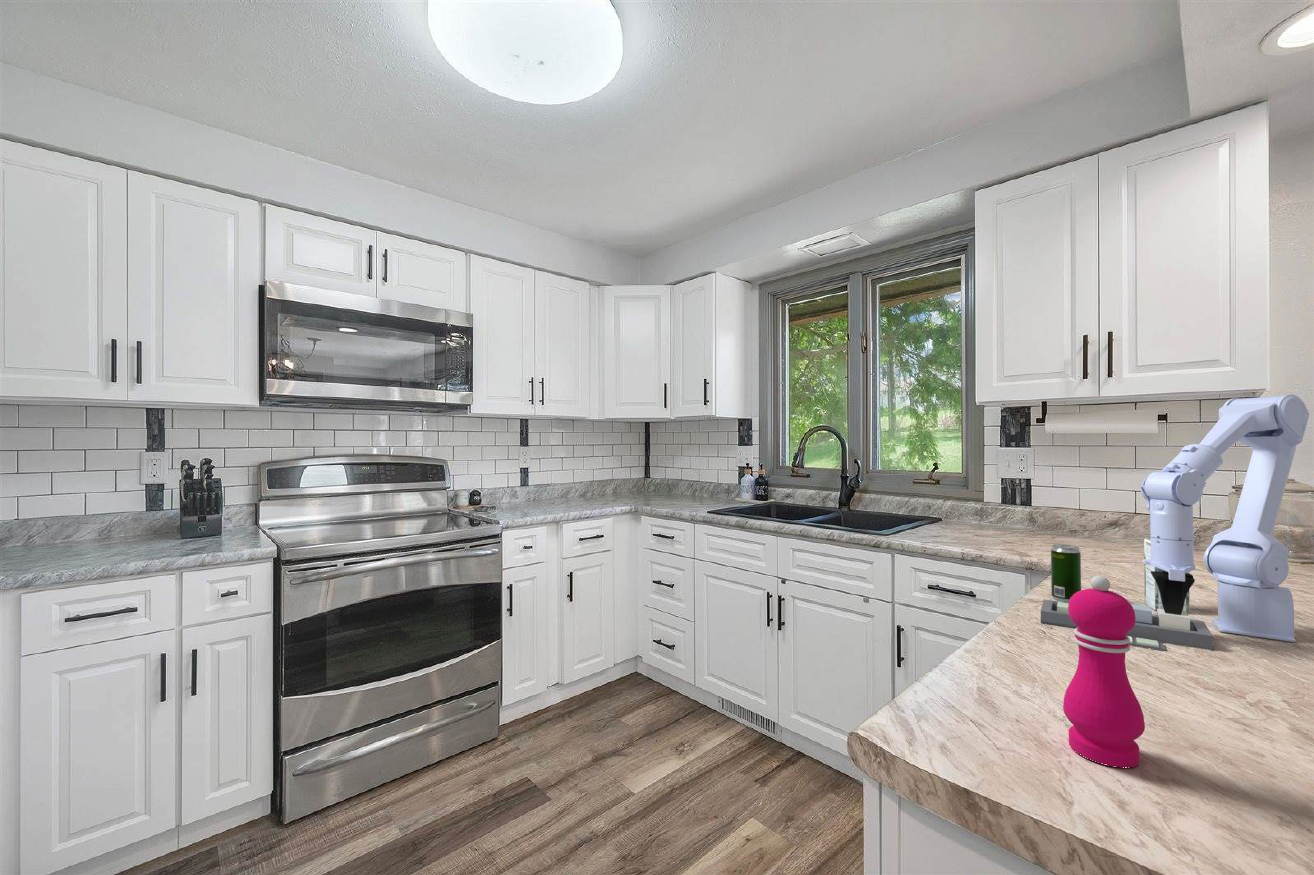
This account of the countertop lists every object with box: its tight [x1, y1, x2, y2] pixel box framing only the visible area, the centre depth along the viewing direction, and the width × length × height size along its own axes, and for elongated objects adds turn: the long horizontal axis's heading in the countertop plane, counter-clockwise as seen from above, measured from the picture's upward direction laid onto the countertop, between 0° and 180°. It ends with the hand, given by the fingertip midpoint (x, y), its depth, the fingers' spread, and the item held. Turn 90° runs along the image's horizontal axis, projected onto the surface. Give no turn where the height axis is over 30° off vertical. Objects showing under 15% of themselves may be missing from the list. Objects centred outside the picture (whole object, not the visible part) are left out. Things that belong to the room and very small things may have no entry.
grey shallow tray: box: [1040, 599, 1214, 651], centre depth 105 cm, size 24×10×2 cm, turn 52°
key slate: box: [1130, 603, 1153, 624], centre depth 104 cm, size 4×4×2 cm
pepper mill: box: [1062, 575, 1146, 769], centre depth 63 cm, size 7×7×20 cm
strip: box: [1128, 636, 1166, 652], centre depth 98 cm, size 11×4×1 cm, turn 52°
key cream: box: [1156, 609, 1191, 630], centre depth 100 cm, size 4×4×2 cm
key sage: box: [1057, 601, 1069, 613], centre depth 110 cm, size 4×4×2 cm
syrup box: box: [1143, 538, 1190, 614], centre depth 117 cm, size 6×6×14 cm
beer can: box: [1050, 543, 1082, 603], centre depth 125 cm, size 5×5×12 cm
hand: (1172, 613), depth 100 cm, fingers closed, pressing on key cream
